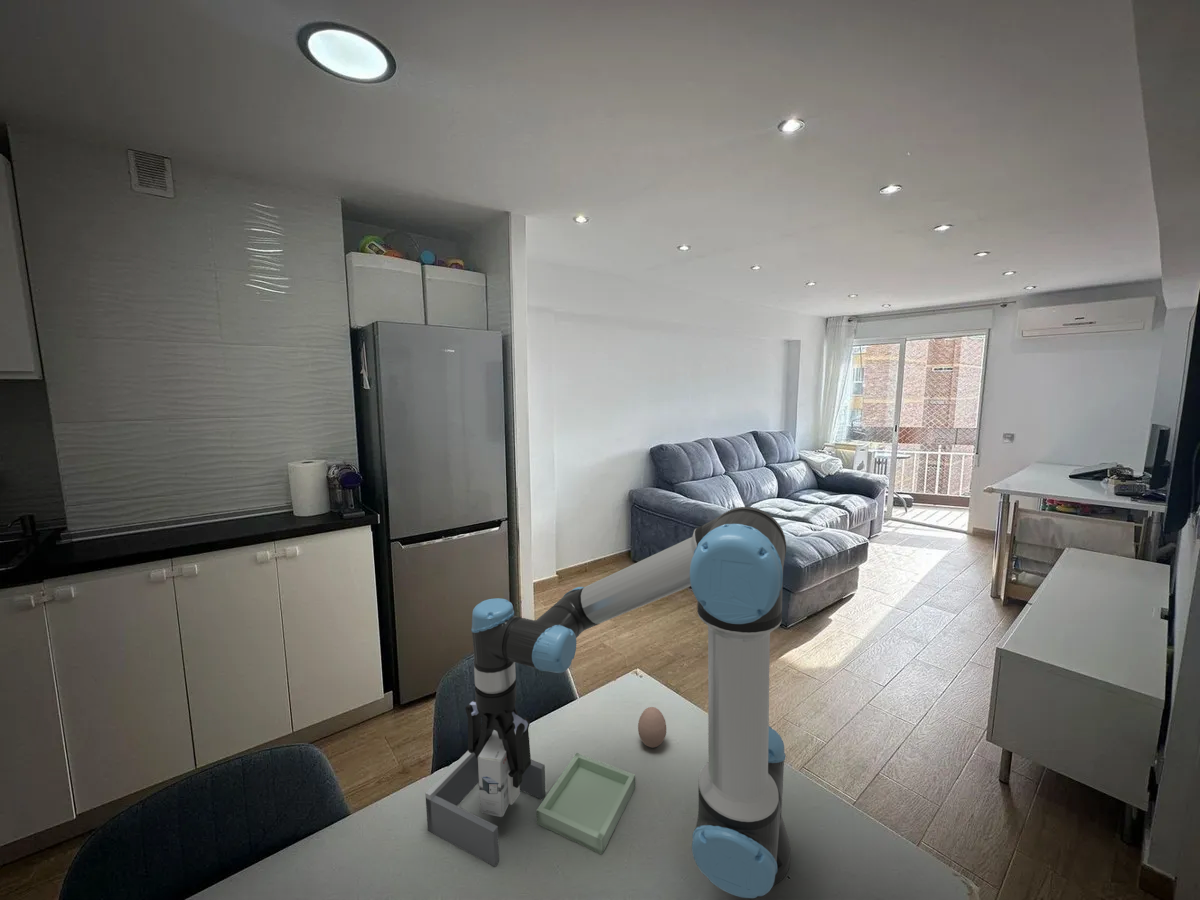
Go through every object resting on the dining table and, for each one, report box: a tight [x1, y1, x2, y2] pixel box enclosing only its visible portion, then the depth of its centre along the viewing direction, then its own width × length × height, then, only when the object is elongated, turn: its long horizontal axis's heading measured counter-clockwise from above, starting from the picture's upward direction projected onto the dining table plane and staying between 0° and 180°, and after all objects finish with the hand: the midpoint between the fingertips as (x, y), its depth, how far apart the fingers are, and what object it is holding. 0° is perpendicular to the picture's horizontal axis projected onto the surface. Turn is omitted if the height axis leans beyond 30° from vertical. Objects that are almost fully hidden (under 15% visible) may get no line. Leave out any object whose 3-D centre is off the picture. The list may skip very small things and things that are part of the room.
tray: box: [535, 752, 636, 855], centre depth 96 cm, size 14×16×3 cm
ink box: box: [478, 730, 516, 818], centre depth 92 cm, size 9×5×12 cm, turn 168°
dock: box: [425, 750, 546, 868], centre depth 94 cm, size 16×16×8 cm
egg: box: [637, 706, 667, 748], centre depth 111 cm, size 7×7×9 cm
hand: (500, 792), depth 92 cm, fingers closed on ink box, 6 cm apart
